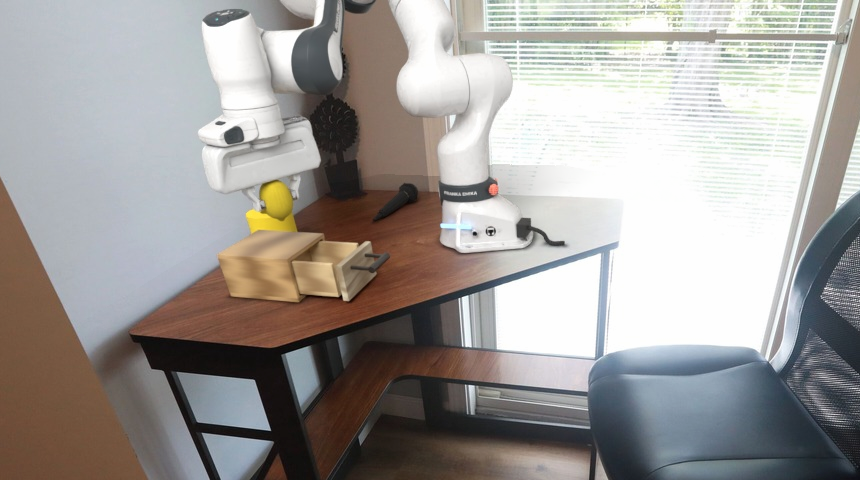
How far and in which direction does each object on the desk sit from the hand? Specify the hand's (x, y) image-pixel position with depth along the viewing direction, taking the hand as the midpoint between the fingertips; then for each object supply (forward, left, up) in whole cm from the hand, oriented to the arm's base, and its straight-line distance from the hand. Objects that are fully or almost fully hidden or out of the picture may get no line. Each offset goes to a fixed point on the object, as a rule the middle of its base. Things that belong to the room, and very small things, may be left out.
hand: (277, 204), depth 103 cm
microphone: (-6, -53, -19) cm, 57 cm away
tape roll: (+16, -25, -19) cm, 35 cm away
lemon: (0, 0, -3) cm, 3 cm away
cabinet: (+7, -6, -19) cm, 21 cm away
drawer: (-7, -4, -18) cm, 20 cm away
